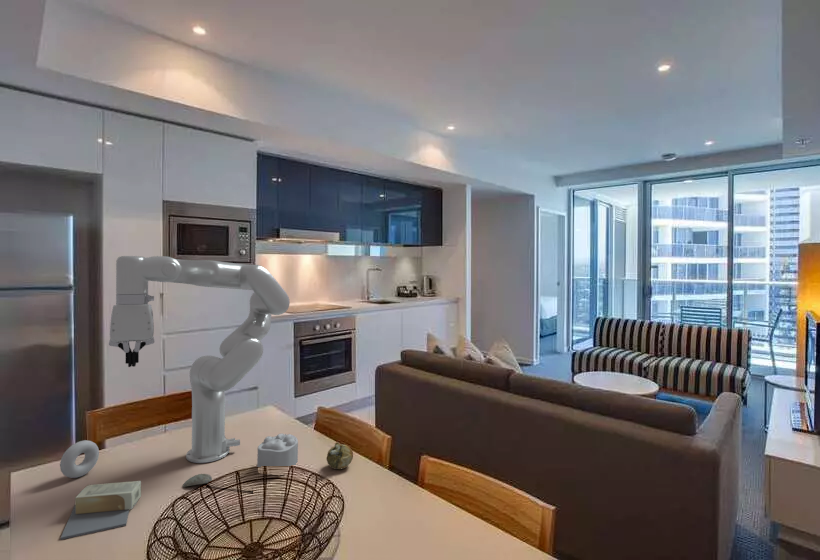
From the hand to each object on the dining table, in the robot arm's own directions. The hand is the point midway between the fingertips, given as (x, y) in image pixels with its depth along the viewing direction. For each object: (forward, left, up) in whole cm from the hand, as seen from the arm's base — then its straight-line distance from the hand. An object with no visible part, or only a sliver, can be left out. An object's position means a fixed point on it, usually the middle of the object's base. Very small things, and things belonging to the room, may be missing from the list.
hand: (132, 365), depth 121 cm
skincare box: (-3, +16, -29) cm, 34 cm away
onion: (-55, +18, -32) cm, 66 cm away
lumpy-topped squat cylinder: (-39, +9, -32) cm, 51 cm away
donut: (+13, -8, -32) cm, 36 cm away
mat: (+5, +17, -32) cm, 37 cm away
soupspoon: (-22, +15, -33) cm, 42 cm away
